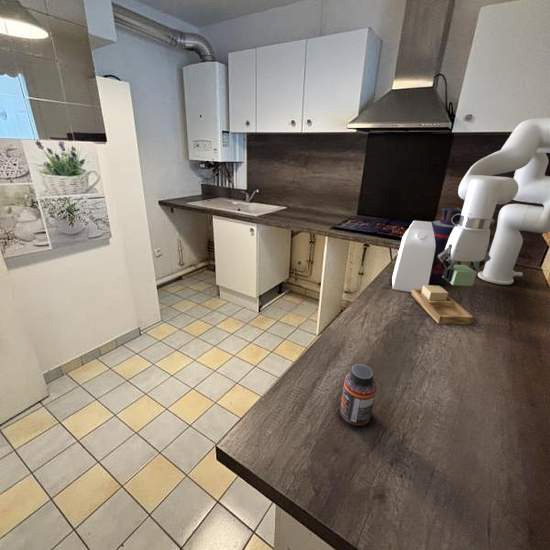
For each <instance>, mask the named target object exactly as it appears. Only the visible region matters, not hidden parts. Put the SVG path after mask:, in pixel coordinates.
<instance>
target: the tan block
mask: <svg viewBox="0 0 550 550" xmlns="http://www.w3.org/2000/svg"><path fill="white" fill-rule="evenodd" d="M421 295H422V296H423V297H424V298H425V299H426V300H427V301H446V299H447V296H449V292H448V291H447V290H446V289H444V288H443V286H442V285H433V284H432V285H430V284H428V285H423V287H422V292H421Z"/></svg>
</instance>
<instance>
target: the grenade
mask: <svg viewBox="0 0 550 550" xmlns="http://www.w3.org/2000/svg"><path fill="white" fill-rule="evenodd" d="M461 212H462V209H461V208H460V207H451V206H450V207H442V208H441V217H440V218H439V220H432V221H430V222H431V223H432V227H433V231H434V237H435V245H436V247H435V253H434V258H433V263H432V269H431V274H430V279H429V283H433V284H437V285H438V284H439V285H440V286H445V285H447V283H449V282H448V281H446V280H445V279H444V278H443V274H444V270H445V266H444V265H443V263H442V262H441V260H440V259H439V258H438V255H439V254H440V253H442V252H443V251H444V250H445V248H446V245H447V242H448V239H449V237H450V234H451V232H452V230H453V228H454V227H455V226H458V223H459V220H460V216H461ZM445 258H446V260H447V259H448V258H449V257H445ZM451 262H452V261H451ZM456 264H457V265H462V261H457V263H456Z"/></svg>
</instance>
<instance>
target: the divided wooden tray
mask: <svg viewBox="0 0 550 550" xmlns="http://www.w3.org/2000/svg"><path fill="white" fill-rule="evenodd" d="M421 292H422V289H412V292H410V293H411V294H410V295H411V296H412V297H413V299H414V300H415V301H416V302H417V303H418V304H419V305H420V306H421V307H422V308H423V309H424V311H426V312H427V314H428V315H429V316H431V318H432V319H433V320H434V321H435V322H436V323H437V324H438V325H439V324H440V325H472V324H473V322H474V318H475V317H474V316H473V315H472V314H470V312H469V311H467V310H466V309H465V308H463V307H462V306H461V305H460V304H459V303H458V302H456V300H454V299H453V298H452V297H451V296H449V295H448V296H447V299H446V301H427V300H426V299H425V298H424V297H423V296H422V295H421Z"/></svg>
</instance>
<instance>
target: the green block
mask: <svg viewBox="0 0 550 550" xmlns="http://www.w3.org/2000/svg"><path fill="white" fill-rule="evenodd" d="M469 267H470V266H468V265H466V264H461V265H458V264H455V265H454V267H453V268H452V269H453V275H452V278H451V281H450V282H448V283H449V284H451V285H452V286H464V287H465V286H466V287H467V286H469V287H472V286H474V283H475V279H476V276H477V274H478V273H477V270H476V271H474V270H473V269H471V268H469Z"/></svg>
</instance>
